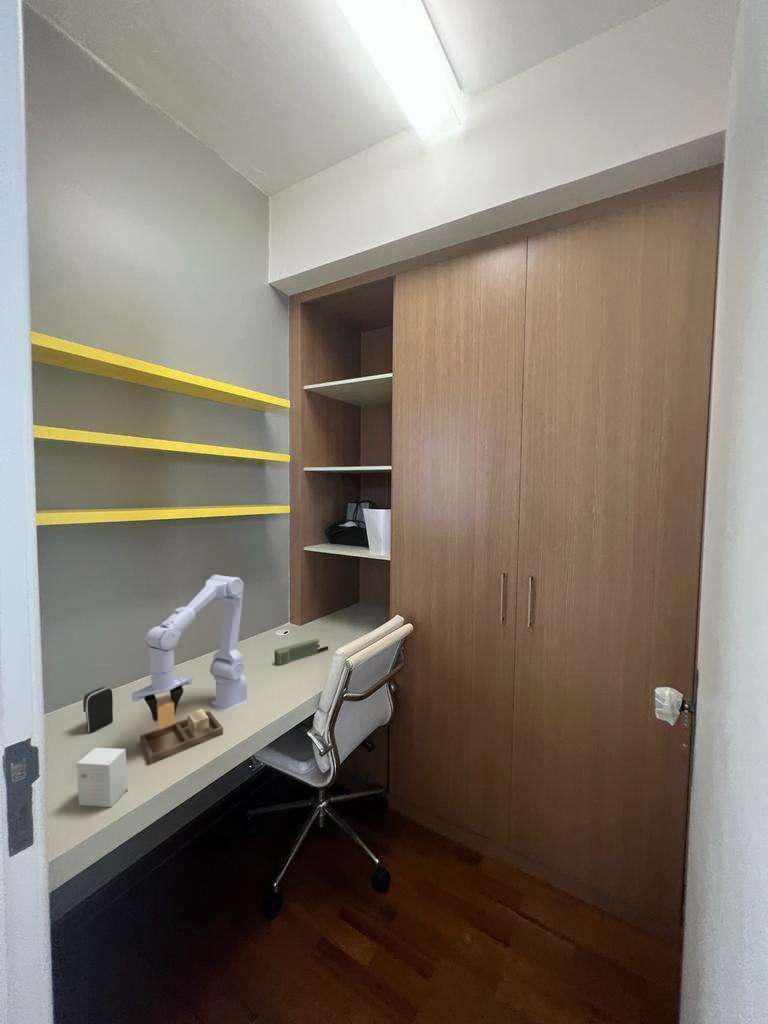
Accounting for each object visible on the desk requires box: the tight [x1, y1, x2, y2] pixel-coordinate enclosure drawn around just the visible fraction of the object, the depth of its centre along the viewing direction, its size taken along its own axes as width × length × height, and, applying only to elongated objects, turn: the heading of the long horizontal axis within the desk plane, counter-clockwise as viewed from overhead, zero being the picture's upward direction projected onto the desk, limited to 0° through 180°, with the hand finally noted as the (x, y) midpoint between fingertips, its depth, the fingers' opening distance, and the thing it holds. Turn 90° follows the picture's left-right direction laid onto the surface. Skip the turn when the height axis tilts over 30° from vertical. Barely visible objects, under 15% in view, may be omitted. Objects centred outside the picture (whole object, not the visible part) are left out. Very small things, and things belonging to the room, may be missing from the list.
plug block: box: [154, 694, 176, 729], centre depth 110 cm, size 4×6×6 cm, turn 43°
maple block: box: [187, 708, 209, 738], centre depth 117 cm, size 4×6×5 cm, turn 43°
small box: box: [76, 747, 129, 808], centre depth 93 cm, size 8×6×10 cm
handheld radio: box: [274, 637, 329, 667], centre depth 169 cm, size 7×3×25 cm
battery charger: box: [82, 686, 114, 734], centre depth 120 cm, size 7×4×11 cm, turn 155°
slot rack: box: [139, 710, 224, 766], centre depth 114 cm, size 19×12×3 cm, turn 133°
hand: (164, 716), depth 110 cm, fingers closed on plug block, 4 cm apart
